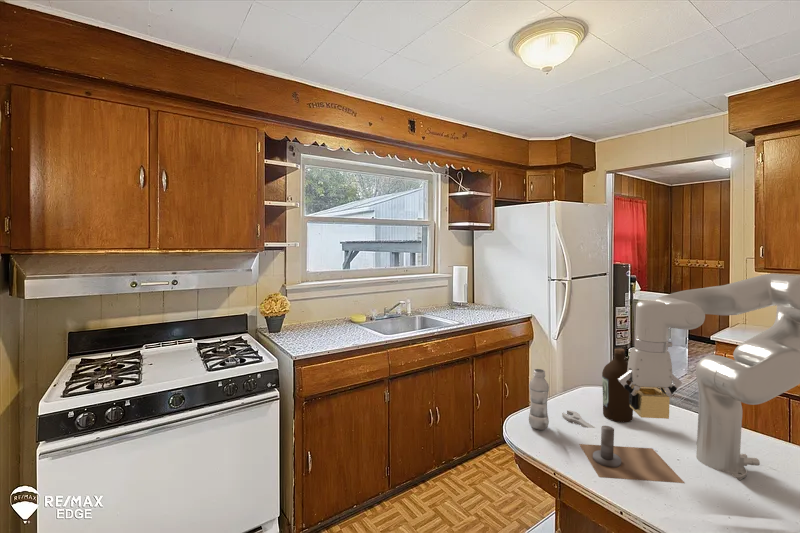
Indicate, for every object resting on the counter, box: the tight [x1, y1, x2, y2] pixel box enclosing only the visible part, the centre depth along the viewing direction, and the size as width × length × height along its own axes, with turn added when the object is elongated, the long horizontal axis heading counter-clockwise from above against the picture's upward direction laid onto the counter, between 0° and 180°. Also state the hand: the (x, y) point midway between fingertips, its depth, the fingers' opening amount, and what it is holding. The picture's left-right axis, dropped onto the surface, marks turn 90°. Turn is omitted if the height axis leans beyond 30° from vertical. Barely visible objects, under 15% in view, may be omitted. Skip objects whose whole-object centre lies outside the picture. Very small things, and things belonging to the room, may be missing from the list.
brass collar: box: [630, 387, 671, 420], centre depth 110 cm, size 7×7×6 cm
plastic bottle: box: [528, 368, 550, 431], centre depth 135 cm, size 6×7×20 cm
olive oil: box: [601, 347, 634, 423], centre depth 142 cm, size 11×11×25 cm
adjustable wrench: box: [561, 410, 596, 429], centre depth 134 cm, size 25×6×2 cm, turn 12°
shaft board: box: [578, 425, 685, 484], centre depth 112 cm, size 21×17×11 cm
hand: (648, 407), depth 110 cm, fingers closed on brass collar, 7 cm apart
